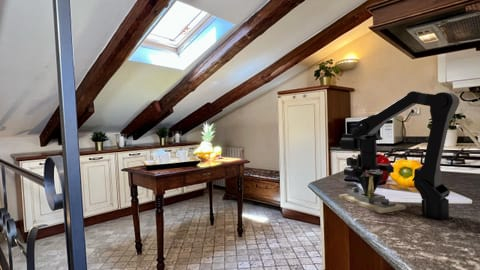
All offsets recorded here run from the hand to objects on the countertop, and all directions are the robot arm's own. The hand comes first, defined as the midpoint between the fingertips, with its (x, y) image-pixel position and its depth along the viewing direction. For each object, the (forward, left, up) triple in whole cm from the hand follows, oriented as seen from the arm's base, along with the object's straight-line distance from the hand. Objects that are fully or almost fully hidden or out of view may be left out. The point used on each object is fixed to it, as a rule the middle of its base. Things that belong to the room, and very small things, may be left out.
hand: (369, 192), depth 103 cm
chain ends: (0, 0, -4) cm, 4 cm away
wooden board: (0, 0, -4) cm, 4 cm away
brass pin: (0, 0, -2) cm, 2 cm away
